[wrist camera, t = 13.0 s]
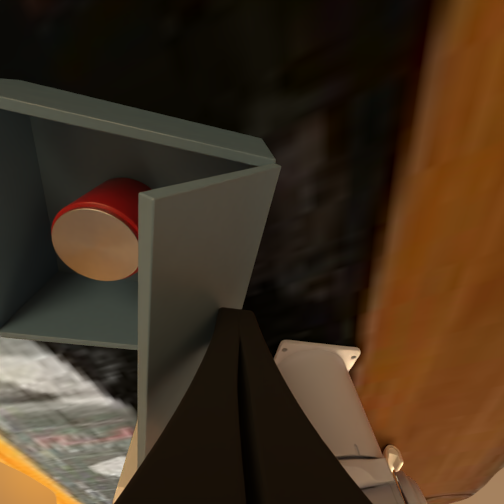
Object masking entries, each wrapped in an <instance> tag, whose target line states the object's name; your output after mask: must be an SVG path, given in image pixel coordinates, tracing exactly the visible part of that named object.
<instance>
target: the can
mask: <svg viewBox="0 0 504 504" xmlns="http://www.w3.org/2000/svg"><path fill="white" fill-rule="evenodd" d="M148 190H152V189H151V188H149V187H148V186H147V185H145V184H143V183H141V182H139V181H137V180H134V179H130V178H113V179H109V180H107V181H105V182H103V183H102V184H100V185H99V186H97V187H95V188H94V189H92V190H91V191H89V192H88V193H86V194H85V195H83V196H81V197H80V198H78V199H77V200H75V201H74V202H72V203H70V204H69V205H67V206H66V207H64V208H63V209H61V210H60V211H59V212H58V213H57V215H56V216H55V218H54V220H53V223H52V227H51V235H52V236H51V237H52V243H53V246H54V249H55V251H56V253H57V254H58V256H59V257H60V258H61V260H62V261H63V262H64V263H65V264H66V265H67V266H68V267H70V268H71V269H72V270H74V271H75V272H77V273H79V274H81V275H83V276H85V277H88V278H91V279H95V280H100V281H115V280H120V279H124V278H127V277H130V276H132V275H134V274H135V273H137V272H138V194H139V193H140V192H144V191H148Z"/></svg>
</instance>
